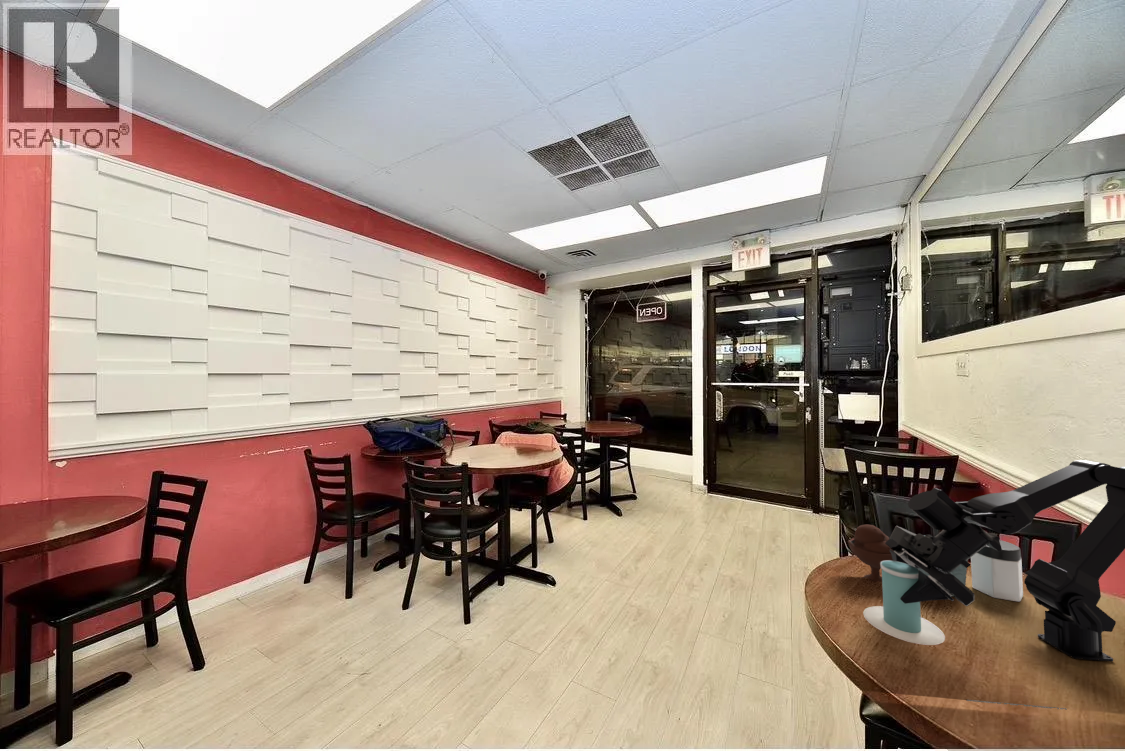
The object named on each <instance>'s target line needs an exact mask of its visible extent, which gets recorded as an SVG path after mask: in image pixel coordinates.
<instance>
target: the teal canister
mask: <svg viewBox="0 0 1125 751" xmlns="http://www.w3.org/2000/svg"><path fill="white" fill-rule="evenodd" d="M880 566H881V568H880V570H881V577H882V582H881V585H882V606H883V613H884V621H885V622H886V623H887V624H889V625H890V626H892V627H894V628H896V629H898V630H901V631H904V632H909V633H919V632H921V617H922V616H921V614H922V613H921V611H922V610H921V602H915V603H907V604H905V603H904V602H903V601H901V600H900V598H901V597H902V596H903V594H904V593H905V592H906V591H907V590H908V589H909V588H911V587H912V586H913V585H914V584H915V583H916V582H917V581H918V571H919V570H918V569H917V568H915V567H913V566H911V565H909V564H906V563H902V562H897V561H889V560H886V561H882V562H881V563H880Z"/></svg>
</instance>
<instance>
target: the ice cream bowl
mask: <svg viewBox="0 0 1125 751" xmlns="http://www.w3.org/2000/svg"><path fill="white" fill-rule="evenodd" d="M889 539H890V536H889V535H887V534H886V533H884V532H883V531H882V530H881V529H880V528H879V527H877V526H875V525H874V524H861V525H859V526H857V527H856V529H855V531H854V536H853V537H851V538H850V539H849V540H847V542H848V546H849V548H850V550H851V552H852V553H853V554H854V555H855V556H856V557H857V558H858V559H859V560H860V561H861V562H862V563H863V564H865V565H867V566H869V567H870V569H871V570H870V573H871V574H870V573H869V574H868V573H867V574H865V575H864V576H862V578H865V579H869V580H871V581H873V582H876V583H877V582H878V583H882V575H881V573H880V570H881V566H880V563H881V562H882V561H886V560H889V561H893V559H892V554H891V552H890V549H891V548H890V547H889V546H887V545H886V544H885V542H887V541H888V540H889ZM891 550H892V549H891ZM892 551H893V550H892Z"/></svg>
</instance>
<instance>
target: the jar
mask: <svg viewBox="0 0 1125 751" xmlns="http://www.w3.org/2000/svg"><path fill="white" fill-rule="evenodd" d="M999 542H1000V545H1001V548H1002V551H997V550H995V549H993V548H991V547H989V546H987V545H986V546H985V547H983V548H982V549H981V550H980V551H978V552H977V553H976V554H974V555H973V556H972V557H970V567H971V569H970V570H971V587H972V589H974V590H976V591H979V592H981V593H983V594H985V595H987V596H989V597H991V598H995V599H1000V600H1004V601H1005V600H1006V601H1012V602H1017V603H1018V602H1019V603H1020V602H1021V601H1022V599H1023V597H1024V586H1023V585H1024V583H1023V582H1024V581H1023V566H1022V565H1023V564H1022V561H1023V560H1022V551H1021V548H1020V547H1019V546H1018V545H1016V544H1014V543H1011V542H1008V541H1005V540H1002V539H1001V540H999Z"/></svg>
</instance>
